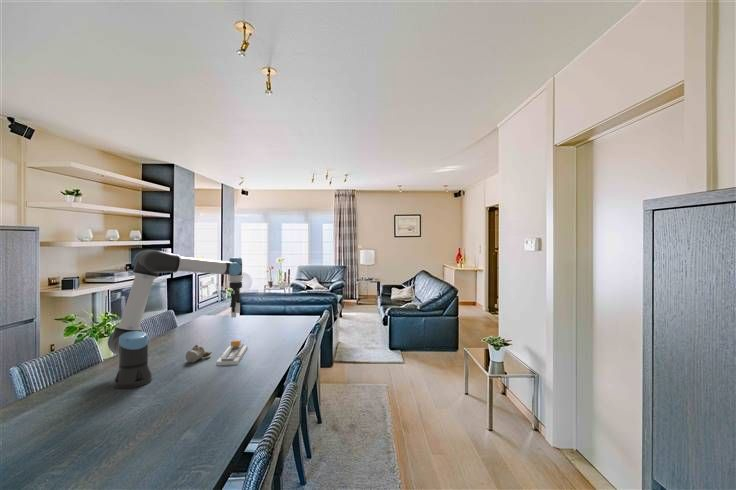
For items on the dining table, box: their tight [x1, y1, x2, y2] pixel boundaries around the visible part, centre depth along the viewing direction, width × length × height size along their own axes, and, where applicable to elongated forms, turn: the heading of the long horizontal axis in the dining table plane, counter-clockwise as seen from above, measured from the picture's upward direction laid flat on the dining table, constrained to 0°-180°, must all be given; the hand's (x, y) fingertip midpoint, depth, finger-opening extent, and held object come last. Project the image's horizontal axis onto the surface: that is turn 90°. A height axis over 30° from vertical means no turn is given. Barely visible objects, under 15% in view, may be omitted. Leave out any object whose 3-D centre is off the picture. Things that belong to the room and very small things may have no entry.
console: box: [216, 343, 249, 366], centre depth 208 cm, size 30×11×3 cm, turn 9°
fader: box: [230, 339, 242, 350], centre depth 215 cm, size 3×5×5 cm, turn 99°
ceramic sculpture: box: [185, 344, 212, 364], centre depth 202 cm, size 11×9×15 cm
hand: (235, 315), depth 223 cm, fingers open, 13 cm apart
